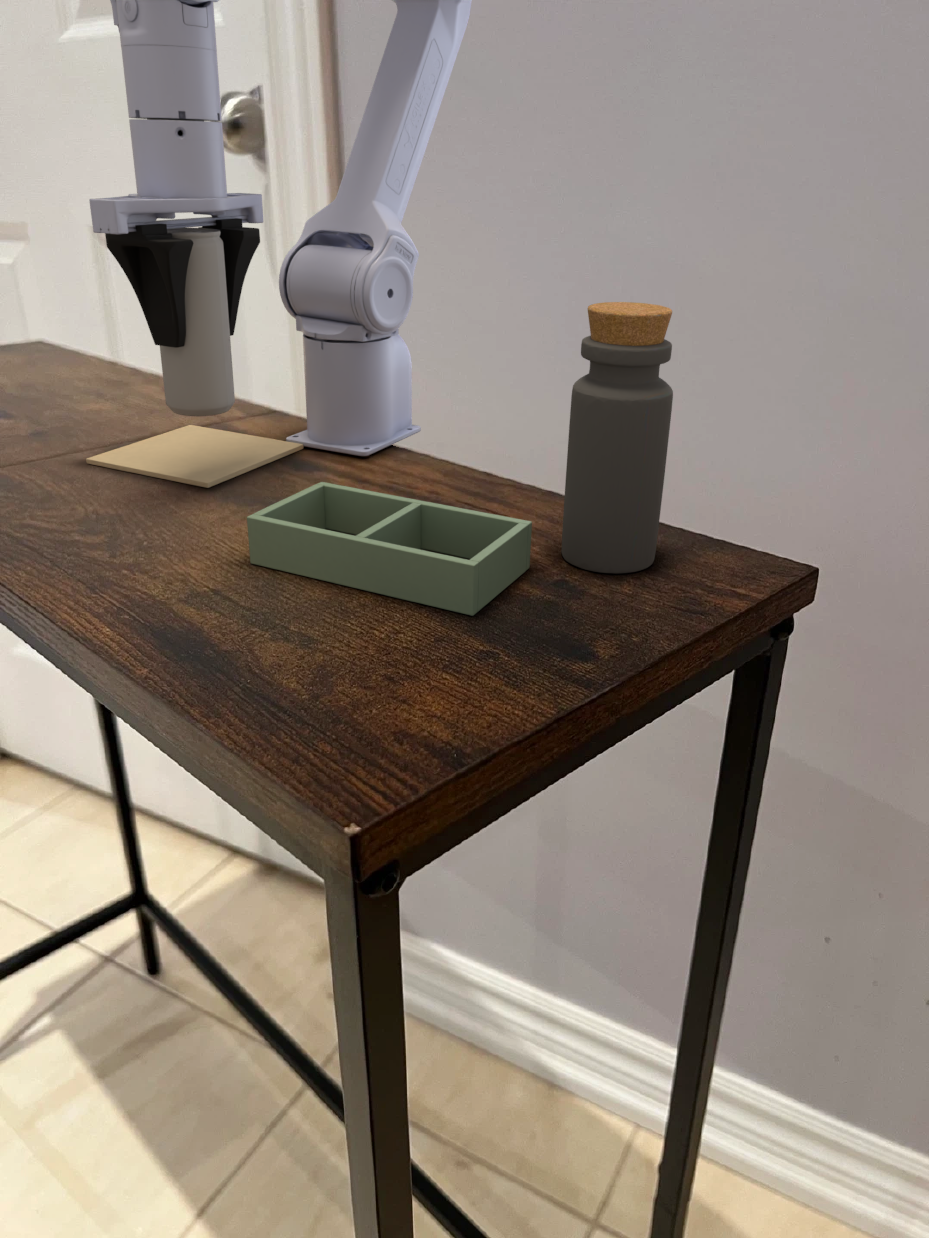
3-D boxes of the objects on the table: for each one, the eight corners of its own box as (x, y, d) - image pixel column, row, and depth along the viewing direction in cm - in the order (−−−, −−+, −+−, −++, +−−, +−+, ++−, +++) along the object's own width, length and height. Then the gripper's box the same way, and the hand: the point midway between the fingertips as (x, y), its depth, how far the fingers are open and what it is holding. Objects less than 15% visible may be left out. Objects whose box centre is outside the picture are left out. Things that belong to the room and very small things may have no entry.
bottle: (608, 533, 65) (629, 297, 59) (674, 561, 61) (705, 310, 55) (541, 551, 62) (555, 304, 56) (606, 582, 58) (629, 319, 51)
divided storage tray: (323, 524, 66) (321, 481, 64) (530, 567, 60) (532, 521, 58) (249, 563, 59) (246, 516, 58) (472, 616, 53) (474, 565, 52)
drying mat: (190, 429, 86) (190, 424, 86) (303, 448, 82) (303, 444, 81) (86, 463, 77) (85, 458, 77) (208, 488, 72) (207, 482, 72)
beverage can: (156, 406, 71) (136, 228, 66) (218, 399, 74) (204, 227, 69) (182, 421, 68) (163, 234, 62) (247, 412, 70) (234, 232, 65)
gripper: (201, 124, 70) (216, 320, 76) (40, 115, 58) (73, 349, 64) (282, 125, 67) (292, 329, 73) (131, 117, 56) (157, 361, 61)
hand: (195, 340), depth 69 cm, fingers closed on beverage can, 5 cm apart
